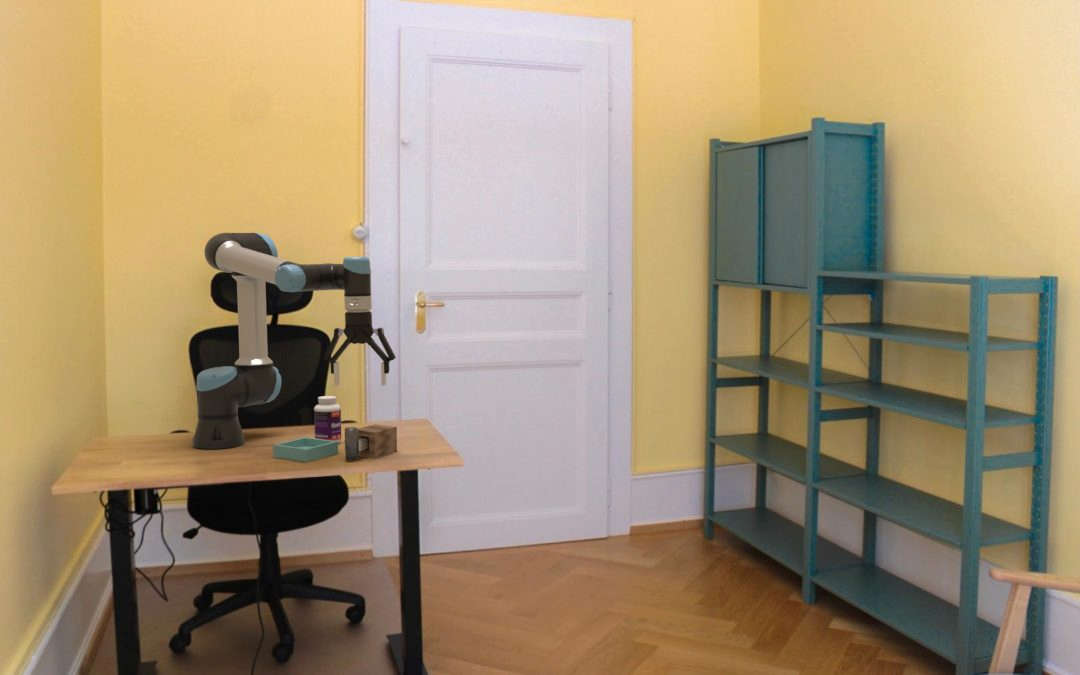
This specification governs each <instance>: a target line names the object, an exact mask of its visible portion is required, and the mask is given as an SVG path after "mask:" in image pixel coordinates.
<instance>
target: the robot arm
mask: <svg viewBox="0 0 1080 675" xmlns="http://www.w3.org/2000/svg"><path fill="white" fill-rule="evenodd" d="M203 253H204V258H205V261H206V262H207V264H208V265H209V266H210V267H211V268H213V269H215V270H217V271H221V272H222V273H223V272H224V273H231V277H232V278H233V279H234V280H235V281H236V291H237V292H236V293H237V319H238V320H237V322H238V324H237V325H238V350H239V353H238V354H239V357H238V359H236V361H235V362H234V366H229V365H227V366H226V365H225V366H223V365H222V366H216V367H210V368H206V369H204V370H202V371H200V372H199V373H198V375H196V376H197V377H196V386H195V388H196V396H197V397H196V399H197V400H196V401H197V402H196V403H197V404H196V405H197V406H196V407H197V423H196V427H195V432H194V434H193V437H192V447H193V448H196V449H201V450H202V449H203V450H217V449H219V450H220V449H229V448H235V447H239V446H242V445H244V444H245V441H246V440H245V434H244V432H243V429H242V426H241V423H240V421H239V416H238V414H239V412H238V411H239V410H238V409H239V408H242V407H243V408H244V407H248V406H255V405H263V404H266V403H270V402H272V401H274V400H275V399H276V397H277V396H279V394H280V391H281V388H282V376H281V374H280V373H279V371H280V370H279V369H278V368H277V367H275V366H274V362H273V360H272V359H271V358H270V357H269V356H268V355H269V351H268V328H267V327H268V325H267V324H268V322H267V291H266V286H267V285H266V283H269V284H273V285H275V286H276V287H277V288H278V289H279V290H280V291H281V292H283V293H285V292H287V293H297V292H299V293H300V292H311V291H313V292H314V291H331V290H332V291H334V290H335V291H341V290H342V291H344V310H345V311H346V312H345V313H344V318H345V319H344V328H340V327H336V328H334V329H333V337H332V339H331V341H330V343H329V345H328V347H327V350H326V352H325V354H324V356H323V361H325V362H329V363H330V374H332V375H333V378H334V379H333V381H334V382H333V383H334V386H336V387H338V386H340V384H341V383H340V362H339V361H337V360H338V359H339V358H340V357H341V355H342V354H343V353H344V352H345V351H346V349H347V348H348V347H349V346H350V344H353V345H356V344H360V345H363V344H364V345H365V344H367V345H368V346H370V348H371V349H372V350H373V352H375V353H376V355H377V356H378V357H379V358H380V359H381V360H382V362H380V375H381V376H380V377H381V379H380V380H381V386H383V387H384V386H386V385H387V375H388V374H390V362H392V361H394V360H396V355H395V352H394V351H393V349H392V347H391V346H390V344H389V341H388V339H387V337H386V336H385V331H384V327H378V328H373V316H372V314H373V313H372V312H371V310H372V309H373V308H372V306H373V305H372V282H371V281H372V276H371V275H372V270H371V262H370V257H367V256H345V257H344V258H343V262H342V263H328V262H327V263H325V262H324V263H313V264H311V263H310V264H308V263H307V264H301V263H297V262H294V261H293V262H292V261H290V260H286V259H283V258H279V255H278V250H277V246H276V244H275V241H274V240H272V238H271V237H270V236H269V235H266V233H265V234H264V233H259V232H222V233H218V234H215V235H213V236H212V237H210V239H209V240H208V241H207V242H206V244H205V247H204V252H203ZM374 334H375V336H377V337H378V340H379V341H380V343H381V346H382V347H383V348H384V350H382V349H381V347H380V346H379V345H378V344H377V342H376V341H375V340H374V338H372V336H373V335H374ZM342 335H344V336H346V339H345V340H344V342H343V343H342V344H341V345H340V346H339V348H338V349H337V350H336V352H335V353H334V354H333V352H334V350H335V348H336V346H337V344H338V342H339V340H340V337H342ZM385 352H386V353H385ZM332 355H333V356H332Z"/></svg>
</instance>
